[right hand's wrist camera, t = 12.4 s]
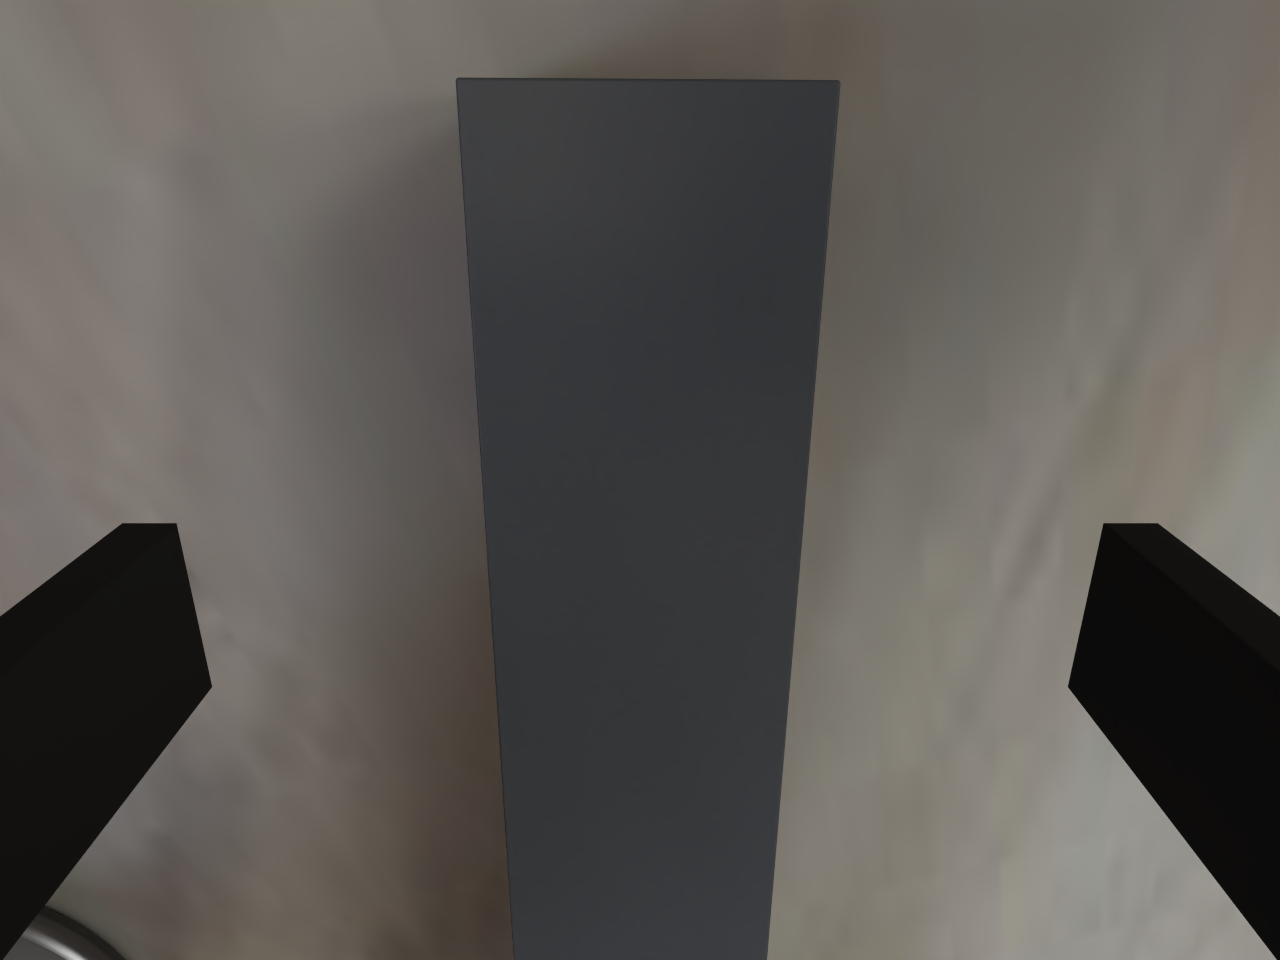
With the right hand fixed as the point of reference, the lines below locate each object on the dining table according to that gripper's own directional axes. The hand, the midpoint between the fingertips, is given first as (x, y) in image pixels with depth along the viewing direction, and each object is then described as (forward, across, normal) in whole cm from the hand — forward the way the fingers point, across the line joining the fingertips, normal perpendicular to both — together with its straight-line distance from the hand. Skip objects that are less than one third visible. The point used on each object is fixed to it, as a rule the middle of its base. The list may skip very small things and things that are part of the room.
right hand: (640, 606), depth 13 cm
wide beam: (+18, 0, -18) cm, 25 cm away
